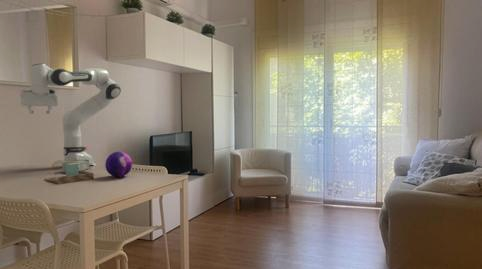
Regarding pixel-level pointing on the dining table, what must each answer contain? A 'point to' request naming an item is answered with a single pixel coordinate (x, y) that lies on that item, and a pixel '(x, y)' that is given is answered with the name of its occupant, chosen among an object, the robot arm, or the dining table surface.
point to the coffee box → (81, 165)
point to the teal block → (72, 169)
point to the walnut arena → (71, 178)
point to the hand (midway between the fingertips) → (39, 113)
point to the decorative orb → (118, 164)
